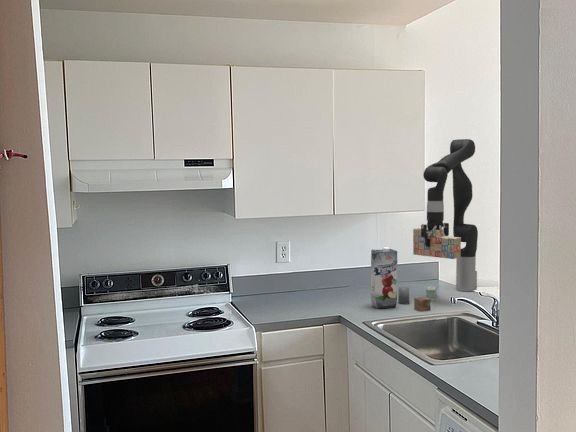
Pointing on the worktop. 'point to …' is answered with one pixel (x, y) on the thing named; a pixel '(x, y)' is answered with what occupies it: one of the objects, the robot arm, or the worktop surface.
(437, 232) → the stack of blocks
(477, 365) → the worktop surface
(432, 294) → the sage brick
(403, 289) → the charcoal cylinder
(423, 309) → the walnut cube
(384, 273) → the juice carton
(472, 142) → the robot arm
